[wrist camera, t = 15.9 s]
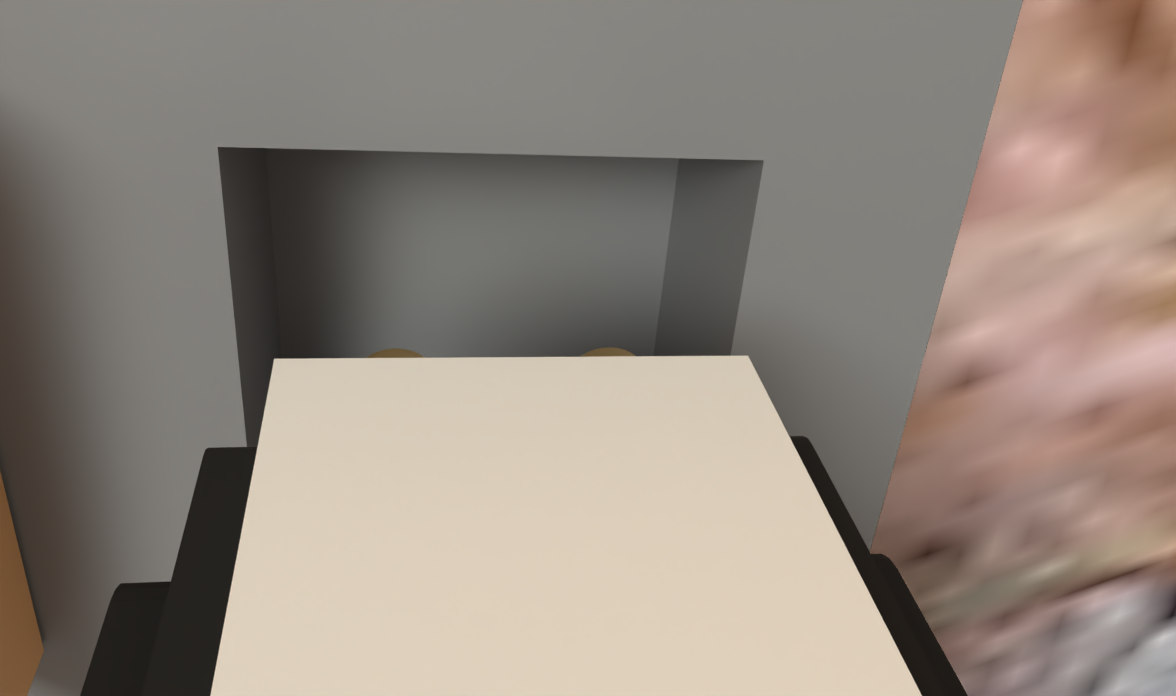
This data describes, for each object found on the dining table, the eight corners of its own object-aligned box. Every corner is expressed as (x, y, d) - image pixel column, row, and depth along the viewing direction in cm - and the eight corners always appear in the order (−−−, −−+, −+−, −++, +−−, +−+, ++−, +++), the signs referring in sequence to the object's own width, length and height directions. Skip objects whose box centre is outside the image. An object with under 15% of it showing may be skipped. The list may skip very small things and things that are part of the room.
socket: (894, -204, 16) (1068, -165, 12) (747, 529, 23) (823, 718, 19) (-514, -322, 13) (-951, -324, 9) (-187, 560, 20) (-342, 791, 16)
